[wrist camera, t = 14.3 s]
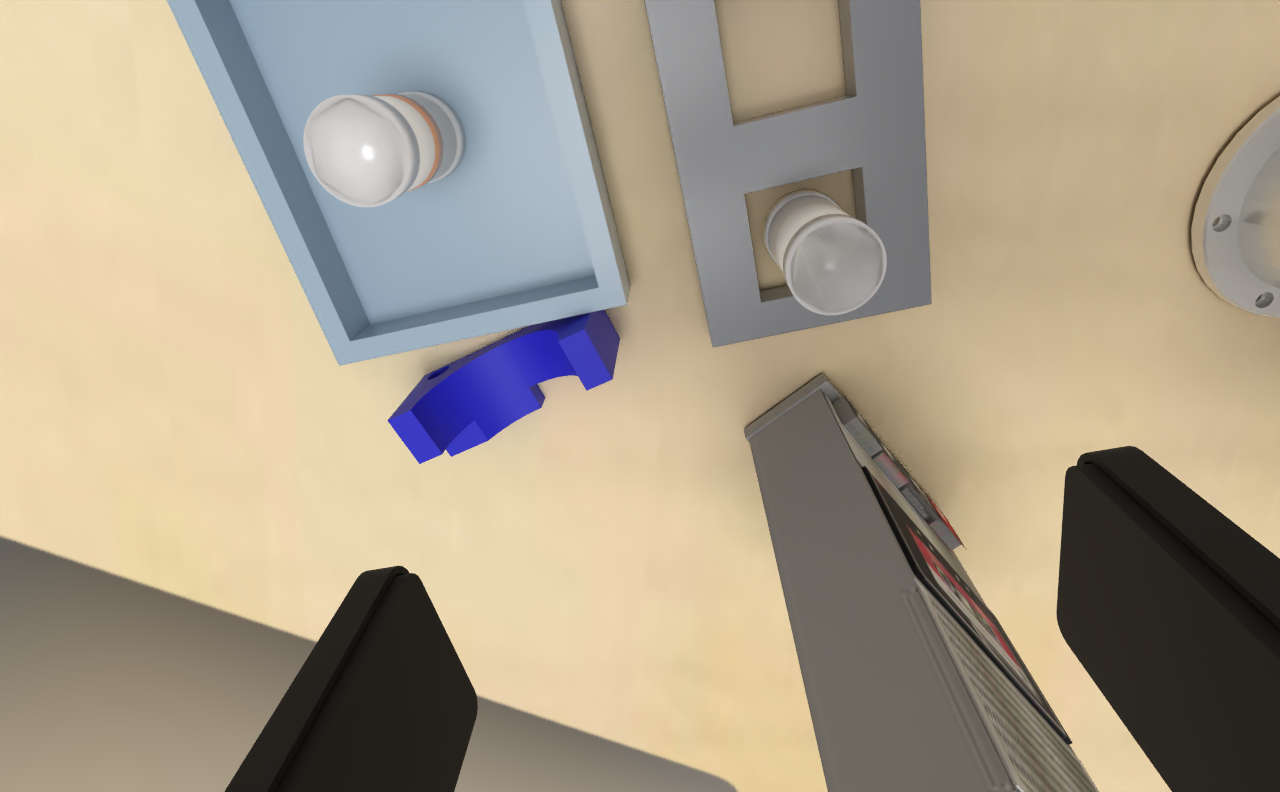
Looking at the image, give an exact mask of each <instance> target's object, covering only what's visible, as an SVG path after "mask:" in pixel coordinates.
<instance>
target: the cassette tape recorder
mask: <svg viewBox="0 0 1280 792" xmlns="http://www.w3.org/2000/svg"><path fill="white" fill-rule="evenodd" d="M744 432H745V437H746V439H747V440H748V441H749V442H750V446H751V450H752V455H753V459H754V464H755V468H756V473H757V477H758V482H759V486H760V491H761V495H762V499H763V504H764V508H765V513H766V517H767V522H768V526H769V531H770V535H771V540H772V544H773V548H774V553H775V557H776V562H777V566H778V571H779V575H780V580H781V584H782V589H783V593H784V597H785V602H786V606H787V611H788V615H789V620H790V624H791V629H792V633H793V638H794V642H795V646H796V651H797V655H798V660H799V664H800V669H801V673H802V678H803V682H804V687H805V691H806V695H807V700H808V704H809V709H810V713H811V718H812V722H813V727H814V731H815V736H816V740H817V744H818V749H819V753H820V758H821V762H822V767H823V771H824V776H825V780H826V785H827V789H828V792H1099V791H1098V789H1097V788H1096V786H1095V784H1094V783H1093V781H1092V779H1091V778H1090V776H1089V774H1088V773H1087V771H1086V769H1085V768H1084V766H1083V764H1082V763H1081V761H1080V760H1079V759H1078V758H1077V757H1076V755H1075V753H1074V752H1073V750H1072V748H1071V747H1070V745H1069V744H1071V743H1072V741H1071V740H1070V738H1069V737H1068V735H1067V733H1066V732H1065V730H1064V728H1063V727H1062V725H1061V723H1060V722H1059V720H1058V718H1057V717H1056V715H1055V714H1054V712H1053V710H1052V709H1051V707H1050V705H1049V704H1048V702H1047V700H1046V699H1045V697H1044V695H1043V694H1042V692H1041V691H1040V689H1039V687H1038V686H1037V684H1036V682H1035V681H1034V679H1033V677H1032V676H1031V674H1030V672H1029V671H1028V669H1027V668H1026V666H1025V664H1024V663H1023V661H1022V659H1021V658H1020V656H1019V654H1018V653H1017V651H1016V649H1015V648H1014V646H1013V645H1012V643H1011V641H1010V640H1009V638H1008V636H1007V635H1006V633H1005V631H1004V630H1003V628H1002V626H1001V625H1000V623H999V622H998V620H997V618H996V617H995V616H994V614H993V613H992V612H991V611H990V610H989V609H988V607H987V606H986V604H985V603H984V601H983V599H982V598H981V596H980V594H979V593H978V591H977V589H976V588H975V586H974V585H973V583H972V581H971V580H970V578H969V576H968V575H967V573H966V571H965V570H964V568H963V566H962V565H961V563H960V561H959V560H958V558H957V556H956V555H955V553H954V551H953V550H952V549H954V548H956V547H958V546H960V545H961V544H962V545H963V543H962V542H961V540H960V539H959V537H958V536H957V534H956V532H955V531H954V529H953V528H952V526H951V525H950V523H949V521H948V520H947V518H946V517H945V516H944V515H943V513H942V512H941V511H940V510H939V509H938V507H937V506H936V505H935V504H934V503H933V501H932V500H931V499H930V498H929V497H928V495H927V494H926V493H925V494H924V492H923V490H922V489H921V488H920V487H919V485H918V484H917V483H916V482H915V481H914V479H913V478H912V477H911V476H910V475H909V473H908V472H907V471H906V470H905V469H904V468H903V466H902V465H901V464H900V463H899V462H898V460H896V459H895V458H894V456H893V455H892V454H891V453H890V452H889V450H888V449H887V448H886V447H885V446H884V444H883V443H882V442H881V441H880V440H879V438H878V437H877V436H876V435H875V434H874V432H873V431H872V430H871V428H870V426H869V425H868V424H867V422H866V421H865V420H864V419H863V418H862V417H861V415H860V414H859V413H858V412H857V411H856V409H855V408H854V407H853V406H852V405H851V403H850V402H849V401H848V400H847V399H846V397H845V396H843V397H842V396H841V394H840V393H839V392H838V391H837V390H836V388H835V387H834V386H833V385H832V384H831V383H830V381H829V380H828V379H827V378H826V377H825V375H824V374H823V373H822V374H820V375H819V376H818V377H816V378H815V379H813V380H812V381H811V382H809V383H808V384H806V385H805V386H804V387H802V388H801V389H799V390H798V391H797V392H795V393H794V394H792V395H791V396H790V397H788V398H787V399H785V400H784V401H782V402H781V403H780V404H778V405H777V406H775V407H774V408H773V409H771V410H770V411H768V412H767V413H766V414H764V415H763V416H761V417H760V418H759V419H757V420H756V421H754V422H753V423H752V424H750V425H749V426H747V427H746V428H745V429H744ZM963 546H964V545H963ZM964 548H965V547H964ZM965 549H966V548H965Z"/></svg>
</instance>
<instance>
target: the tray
mask: <svg viewBox="0 0 1280 792" xmlns="http://www.w3.org/2000/svg"><path fill="white" fill-rule="evenodd" d="M167 2H168V4H169V6H170V8H171V10H172V12H173V14H174V16H175V18H176V21H177V23H178V25H179V27H180V29H181V31H182V33H183V35H184V38H185V40H186V42H187V44H188V46H189V48H190V50H191V52H192V55H193V57H194V59H195V61H196V63H197V65H198V67H199V69H200V71H201V74H202V76H203V78H204V80H205V82H206V84H207V86H208V88H209V91H210V93H211V95H212V97H213V99H214V101H215V103H216V105H217V108H218V110H219V112H220V114H221V116H222V118H223V120H224V122H225V125H226V127H227V129H228V131H229V133H230V135H231V137H232V139H233V141H234V144H235V146H236V148H237V150H238V152H239V154H240V156H241V158H242V161H243V163H244V165H245V167H246V169H247V171H248V173H249V175H250V178H251V180H252V182H253V184H254V186H255V188H256V190H257V192H258V195H259V197H260V199H261V201H262V203H263V205H264V207H265V209H266V211H267V214H268V216H269V218H270V220H271V222H272V224H273V226H274V228H275V231H276V233H277V235H278V237H279V239H280V241H281V243H282V245H283V248H284V250H285V252H286V254H287V256H288V258H289V260H290V262H291V265H292V267H293V269H294V271H295V273H296V275H297V277H298V279H299V281H300V284H301V286H302V288H303V290H304V292H305V294H306V296H307V298H308V301H309V303H310V305H311V307H312V309H313V311H314V313H315V315H316V318H317V320H318V322H319V324H320V326H321V328H322V330H323V332H324V335H325V337H326V339H327V341H328V343H329V345H330V347H331V349H332V351H333V354H334V356H335V358H336V360H337V362H338V364H339V366H340V365H345V364H349V363H354V362H359V361H364V360H368V359H373V358H378V357H383V356H387V355H392V354H397V353H401V352H406V351H411V350H416V349H420V348H425V347H430V346H434V345H439V344H444V343H449V342H453V341H458V340H463V339H468V338H472V337H477V336H482V335H486V334H491V333H496V332H501V331H505V330H510V329H515V328H519V327H524V326H529V325H534V324H538V323H543V322H548V321H552V320H557V319H562V318H567V317H571V316H576V315H581V314H586V313H590V312H595V311H600V310H604V309H609V308H614V307H619V306H623V305H627V302H628V296H629V290H630V282H629V278H628V274H627V269H626V265H625V261H624V257H623V253H622V249H621V245H620V241H619V237H618V233H617V229H616V224H615V220H614V216H613V212H612V208H611V204H610V200H609V196H608V192H607V188H606V184H605V180H604V175H603V171H602V167H601V163H600V159H599V155H598V151H597V147H596V143H595V139H594V135H593V130H592V126H591V122H590V118H589V114H588V110H587V106H586V102H585V98H584V94H583V90H582V86H581V81H580V77H579V73H578V69H577V65H576V61H575V57H574V53H573V49H572V45H571V41H570V36H569V32H568V28H567V24H566V20H565V16H564V12H563V8H562V4H561V0H167ZM414 91H422V92H428V93H431V94H434V95H436V96H438V97H440V98H442V99H443V100H444V101H446V102H447V103H448V104H449V105H450V106H451V107H452V108H453V109H454V110H455V112H456V113H457V115H458V116H459V118H460V120H461V122H462V125H463V127H464V131H465V137H466V147H465V153H464V156H463V159H462V161H461V163H460V165H459V166H458V167H457V169H456V170H455V171H454V172H453V173H451V174H450V175H448V176H446V177H444V178H442V179H440V180H437V181H435V182H431V183H426V184H425V185H423V186H421V187H419V188H416V189H414V190H411V191H408V192H406V193H404V194H403V195H402V196H400V197H398V198H396V199H394V200H392V201H390V202H388V203H385V204H383V205H380V206H376V207H357V206H353V205H350V204H347V203H345V202H343V201H341V200H339V199H337V198H336V197H334V196H333V195H331V194H330V193H329V192H328V191H326V190H325V188H324V187H323V186H322V185H321V184H320V183H319V182H318V180H317V179H316V178H315V176H314V175H313V173H312V171H311V169H310V167H309V165H308V162H307V159H306V156H305V152H304V144H303V136H304V129H305V125H306V122H307V120H308V117H309V116H310V114H311V112H312V111H313V110H314V109H315V108H316V106H318V105H319V104H320V103H321V102H323V101H324V100H326V99H328V98H331V97H334V96H339V95H353V94H364V95H370V96H373V95H379V94H399V93H403V92H414Z"/></svg>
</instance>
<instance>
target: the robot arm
mask: <svg viewBox="0 0 1280 792" xmlns="http://www.w3.org/2000/svg"><path fill="white" fill-rule="evenodd" d="M1191 236H1192V253H1193V256H1194V260H1195V264H1196V268H1197V270H1198V272H1199V274H1200V275H1201V277H1202V279H1203V280H1204V282H1205V284H1206V285H1207V286H1208V287H1209V288H1210V289H1211V290H1212V291H1213V292H1214V293H1215V294H1216V295H1217V296H1218V297H1219V298H1221V299H1223V300H1224V301H1226V302H1228V303H1230V304H1232V305H1234V306H1235V307H1238V308H1240V309H1243V310H1245V311H1248V312H1250V313H1253V314H1256V315H1262V316H1268V317H1274V318H1280V96H1279V97H1277V98H1276V99H1275V100H1274V101H1272V102H1271V103H1270V104H1268V105H1267V106H1266V107H1264V108H1263V109H1262V110H1260V111H1259V112H1258V113H1257V114H1256V115H1255V116H1254V117H1253V118H1252V119H1251V120H1250V121H1249V122H1248V123H1247V124H1246V125H1245V126H1244V127H1243V128H1242V129H1241V130H1240V131H1239V132H1238V133H1237V134H1236V136H1235V137H1234V138H1233V139H1232V141H1231V142H1230V143H1229V145H1228V146H1227V147H1226V148H1225V150H1224V151H1223V152H1222V154H1221V155H1220V156H1219V158H1218V159H1217V161H1216V163H1215V165H1214V166H1213V168H1212V170H1211V172H1210V173H1209V175H1208V177H1207V179H1206V180H1205V183H1204V185H1203V188H1202V190H1201V193H1200V196H1199V198H1198V201H1197V204H1196V207H1195V212H1194V217H1193V223H1192V228H1191ZM1057 621H1058V625H1059V628H1060V631H1061V633H1062V635H1063V638H1064V639H1065V641H1066V642H1067V644H1068V645H1069V647H1070V648H1071V650H1072V651H1073V653H1074V654H1075V655H1076V657H1077V658H1078V660H1079V661H1080V662H1081V664H1082V665H1083V667H1084V668H1085V669H1086V671H1087V672H1088V674H1089V675H1090V677H1091V678H1092V679H1093V681H1094V682H1095V684H1096V685H1097V686H1098V688H1099V689H1100V691H1101V692H1102V693H1103V695H1104V696H1105V698H1106V699H1107V701H1108V702H1109V703H1110V705H1111V706H1112V708H1113V709H1114V710H1115V712H1116V713H1117V715H1118V716H1119V717H1120V719H1121V720H1122V722H1123V723H1124V725H1125V726H1126V727H1127V729H1128V730H1129V732H1130V733H1131V734H1132V736H1133V737H1134V739H1135V740H1136V741H1137V743H1138V744H1139V746H1140V747H1141V749H1142V750H1143V751H1144V753H1145V754H1146V756H1147V757H1148V758H1149V760H1150V761H1151V763H1152V764H1153V765H1154V767H1155V768H1156V770H1157V771H1158V773H1159V774H1160V775H1161V777H1162V778H1163V780H1164V781H1165V782H1166V784H1167V785H1168V787H1169V788H1170V789H1171V791H1172V792H1280V559H1279V558H1278V557H1277V556H1276V555H1274V554H1273V553H1272V552H1270V551H1269V550H1268V549H1267V548H1265V547H1264V546H1263V545H1261V544H1260V543H1259V542H1258V541H1256V540H1255V539H1254V538H1253V537H1251V536H1250V535H1249V534H1247V533H1246V532H1245V531H1244V530H1242V529H1241V528H1240V527H1239V526H1237V525H1236V524H1235V523H1233V522H1232V521H1231V520H1230V519H1228V518H1227V517H1226V516H1224V515H1223V514H1222V513H1221V512H1219V511H1218V510H1217V509H1216V508H1214V507H1213V506H1212V505H1210V504H1209V503H1208V502H1207V501H1205V500H1204V499H1203V498H1201V497H1200V496H1199V495H1198V494H1196V493H1195V492H1194V491H1193V490H1191V489H1190V488H1189V487H1187V486H1186V485H1185V484H1184V483H1182V482H1181V481H1180V480H1179V479H1177V478H1176V477H1175V476H1173V475H1172V474H1171V473H1170V472H1168V471H1167V470H1166V469H1164V468H1163V467H1162V466H1161V465H1159V464H1158V463H1157V462H1156V461H1154V460H1153V459H1152V458H1150V457H1149V456H1148V455H1147V454H1145V453H1144V452H1143V451H1141V450H1140V449H1138V448H1136V447H1133V446H1126V447H1119V448H1113V449H1107V450H1101V451H1095V452H1089V453H1085V454H1083V455H1081V456H1080V458H1079V459H1078V462H1077V466H1072V467H1070V468H1068V470H1067V471H1066V476H1065V488H1064V504H1063V520H1062V536H1061V551H1060V567H1059V583H1058V599H1057ZM477 708H478V707H477V696H476V693H475V690H474V688H473V686H472V684H471V682H470V680H469V678H468V676H467V674H466V671H465V669H464V667H463V665H462V663H461V661H460V659H459V657H458V655H457V653H456V651H455V649H454V647H453V645H452V643H451V641H450V639H449V637H448V635H447V633H446V630H445V628H444V626H443V624H442V622H441V620H440V618H439V616H438V614H437V612H436V610H435V608H434V606H433V604H432V602H431V600H430V598H429V596H428V594H427V592H426V590H425V587H424V585H423V583H422V581H421V580H420V578H419V576H417V575H416V574H413V573H411V574H410V573H409V572H408V570H407V569H406V568H404V567H403V566H394V567H388V568H382V569H376V570H370V571H365V572H363V573H361V575H360V576H359V577H358V578H357V579H356V581H355V583H354V584H353V586H352V587H351V589H350V591H349V592H348V594H347V596H346V597H345V599H344V600H343V602H342V604H341V605H340V607H339V608H338V610H337V612H336V613H335V615H334V616H333V618H332V620H331V621H330V623H329V624H328V626H327V628H326V629H325V631H324V633H323V634H322V636H321V637H320V639H319V641H318V642H317V644H316V645H315V647H314V649H313V650H312V652H311V653H310V655H309V657H308V658H307V660H306V661H305V663H304V665H303V667H302V668H301V670H300V671H299V673H298V674H297V676H296V678H295V679H294V681H293V682H292V684H291V686H290V687H289V689H288V690H287V692H286V694H285V695H284V697H283V698H282V700H281V702H280V703H279V705H278V707H277V708H276V710H275V711H274V713H273V715H272V716H271V718H270V719H269V721H268V723H267V724H266V726H265V727H264V729H263V731H262V732H261V734H260V736H259V737H258V739H257V740H256V742H255V743H254V745H253V747H252V748H251V750H250V752H249V753H248V755H247V756H246V758H245V760H244V761H243V763H242V764H241V766H240V768H239V770H238V771H237V773H236V774H235V776H234V777H233V779H232V781H231V782H230V784H229V785H228V787H227V788H226V790H225V792H454V790H455V787H456V784H457V780H458V777H459V774H460V770H461V767H462V763H463V760H464V757H465V754H466V750H467V747H468V743H469V740H470V736H471V733H472V730H473V727H474V723H475V720H476V716H477Z"/></svg>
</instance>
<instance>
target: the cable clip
mask: <svg viewBox="0 0 1280 792" xmlns="http://www.w3.org/2000/svg"><path fill="white" fill-rule="evenodd" d="M619 341H620V337H619V336H618V334H617V332H616V330H615V328H614V326H613V324H612V323H611V321H610V319H609V317H608V315H607V313H606V311H605V309H604V310H600V311H595V312H590V313H586V314H581V315H576V316H571V317H567V318H562V319H557V320H552V321H548V322H543V323H538V324H534V325H530V326H528V327H526V328H524V329H522V330H520V331H517V332H515V333H513V334H511V335H509V336H507V337H505V338H503V339H501V340H499V341H496V342H494V343H492V344H490V345H488V346H486V347H484V348H482V349H480V350H478V351H475V352H473V353H471V354H469V355H467V356H465V357H463V358H461V359H459V360H457V361H454V362H452V363H450V364H448V365H446V366H444V367H442V368H440V369H438V370H436V371H433V372H431V373H429V374H427V375H425V376H424V377H423V378H422V380H421V381H420V382H419V383H418V384H417V386H416V387H415V388H414V389H413V390H412V392H411V393H410V394H409V395H408V396H407V398H406V399H405V400H404V401H403V403H402V404H401V405H400V406H399V407H398V409H397V410H396V411H395V412H394V413H393V415H392V416H391V417H390V418H389V419H388V422H389V423H390V424H391V426H392V427H393V429H394V430H395V431H396V433H397V434H398V435H399V437H400V438H401V439H402V441H403V442H404V443H405V445H406V446H407V447H408V449H409V450H410V451H411V453H412V454H413V456H414V457H415V458H416V460H417V461H418V462H419V464H421V463H423V462H425V461H428V460H430V459H432V458H435V457H437V456H439V455H441V454H443V452H444V451H445V449H446V450H447V452H448V453H449V454H450V456H451V457H452V456H454V455H456V454H459V453H461V452H463V451H465V450H468V449H470V448H472V447H475V446H477V445H479V444H481V443H484V442H486V441H488V440H489V439H491V438H492V437H493V436H495V435H496V434H497V433H499V432H500V431H501V430H503V429H504V428H506V427H507V426H509V425H510V424H512V423H513V422H515V421H517V420H518V419H520V418H522V417H523V416H525V415H527V414H529V413H531V412H533V411H535V410H537V409H539V408H541V407H542V405H543V402H544V399H545V397H544V395H543V393H542V392H541V390H540V388H539V387H538V385H537V383H540V382H543V381H546V380H549V379H552V378H556V377H561V376H568V375H575V376H578V377H579V378H580V380H581V382H582V383H583V385H584V387H585V389H586V390H589V389H591V388H594V387H596V386H598V385H600V384H603V383H605V382H607V381H610V380H612V379H613V374H614V368H615V363H616V357H617V352H618V346H619Z"/></svg>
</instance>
